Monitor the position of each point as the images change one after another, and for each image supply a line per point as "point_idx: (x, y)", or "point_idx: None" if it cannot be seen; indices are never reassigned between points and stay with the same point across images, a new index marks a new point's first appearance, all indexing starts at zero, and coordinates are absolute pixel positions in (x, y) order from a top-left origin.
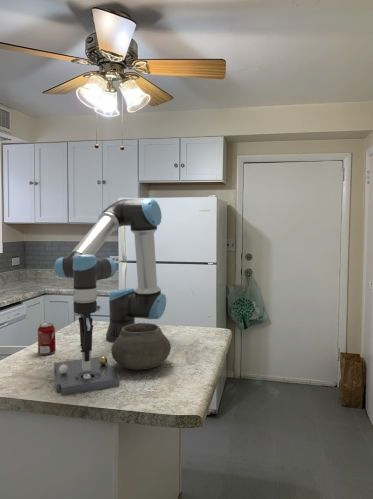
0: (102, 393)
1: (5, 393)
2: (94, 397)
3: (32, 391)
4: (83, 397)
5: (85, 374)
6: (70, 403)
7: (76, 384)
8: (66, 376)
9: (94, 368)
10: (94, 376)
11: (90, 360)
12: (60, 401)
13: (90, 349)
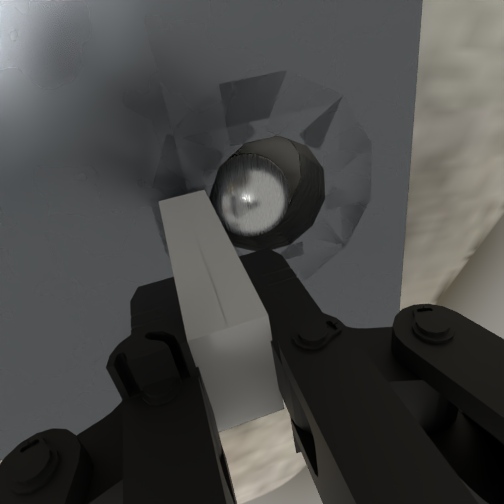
0: (449, 62)
1: (261, 493)
2: (475, 120)
3: (272, 423)
4: (443, 186)
5: (264, 223)
6: (473, 242)
7: (390, 257)
8: None
9: (59, 147)
10: (291, 139)
11: (226, 235)
12: (429, 289)
13: (465, 336)
